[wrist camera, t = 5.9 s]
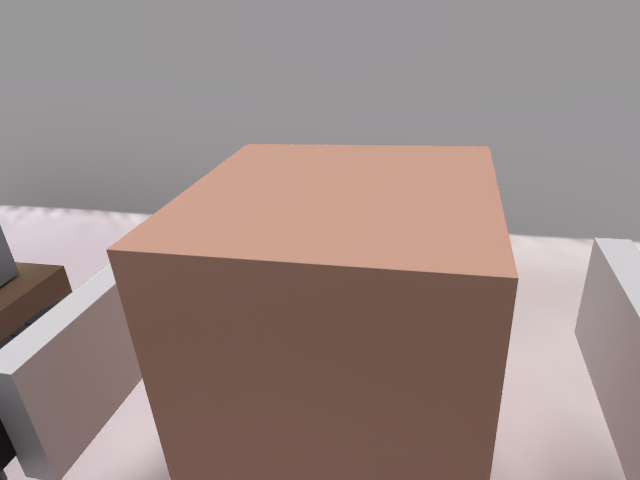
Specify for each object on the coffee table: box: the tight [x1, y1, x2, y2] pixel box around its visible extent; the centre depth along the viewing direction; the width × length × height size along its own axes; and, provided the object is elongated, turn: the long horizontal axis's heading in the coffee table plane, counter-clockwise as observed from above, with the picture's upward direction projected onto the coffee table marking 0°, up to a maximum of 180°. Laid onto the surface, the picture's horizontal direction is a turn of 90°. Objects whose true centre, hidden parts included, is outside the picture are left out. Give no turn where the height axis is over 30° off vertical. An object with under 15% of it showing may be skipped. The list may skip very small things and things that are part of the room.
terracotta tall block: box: [107, 144, 518, 480], centre depth 10 cm, size 5×5×10 cm
